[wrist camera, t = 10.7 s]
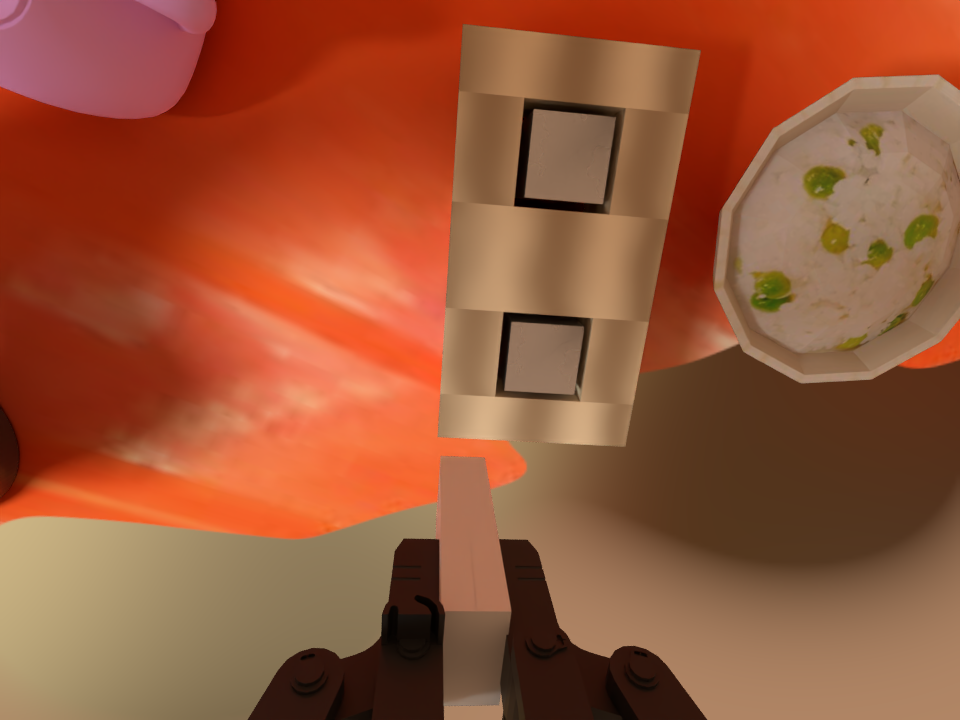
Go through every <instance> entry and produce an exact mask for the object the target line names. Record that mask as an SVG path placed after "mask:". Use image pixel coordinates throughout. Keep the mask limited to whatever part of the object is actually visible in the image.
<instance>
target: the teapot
mask: <svg viewBox="0 0 960 720" xmlns="http://www.w3.org/2000/svg"><path fill="white" fill-rule="evenodd" d="M216 13H217V8H216V2H215V0H0V86H1V87H3V88H5V89H8V90H10V91H13V92H15V93H18V94H21V95H23V96H26V97H29V98H31V99H34V100H37V101H40V102H42V103H45V104H49V105H53V106H56V107H60V108H63V109H67V110H71V111H75V112H79V113H84V114H89V115H94V116H100V117H109V118H117V119H140V118H147V117H154V116H157V115H160V114H162V113H164V112H166V111H168V110H169V109H171V108H172V107H173V106H174V105H176V104H177V102H178V101H179V100H180V98H181V97H182V95H183V94H184V93H185V91H186V89H187V87H188V85H189V82H190V80H191V78H192V75H193V73H194V70H195V67H196V64H197V61H198V58H199V55H200V52H201V49H202V46H203V42H204V38H205V34H206V32H207V31H208V30H210V28H211V27H212V26H213V24H214V21H215V19H216Z"/></svg>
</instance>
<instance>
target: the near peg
mask: <svg viewBox="0 0 960 720" xmlns="http://www.w3.org/2000/svg"><path fill="white" fill-rule="evenodd" d="M615 120H616V117H609V116H599V115H588V114H578V113H568V112H558V111H548V110H538V109H533V111H532V112H531V113H530V114H529V115H528V116H527V117H526V119H525V120H524V121H523V122H522V127H521V137H520V148H519V158H518V168H517V178H516V188H515V198H523V199H535V200H546V201H558V202H569V203H584V204H603V200H604V193H605V187H606V180H607V173H608V167H609V160H610V153H611V147H612V140H613V133H614V127H615Z"/></svg>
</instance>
